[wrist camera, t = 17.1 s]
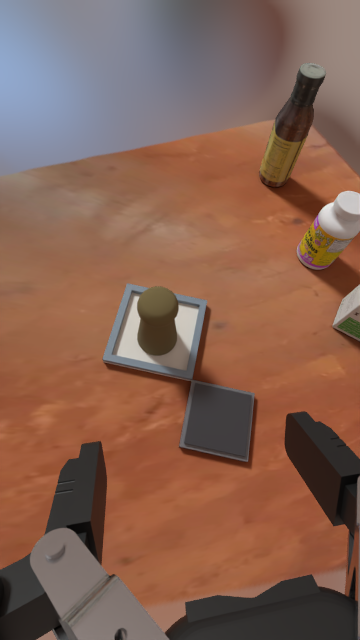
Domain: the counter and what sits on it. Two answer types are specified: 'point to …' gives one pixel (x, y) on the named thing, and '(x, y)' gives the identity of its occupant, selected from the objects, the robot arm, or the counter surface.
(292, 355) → the counter surface
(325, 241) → the supplement bottle
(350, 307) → the skincare box
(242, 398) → the ink pad
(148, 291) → the olive tapered round piece
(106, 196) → the counter surface
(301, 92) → the sauce bottle
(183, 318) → the blank framed board
